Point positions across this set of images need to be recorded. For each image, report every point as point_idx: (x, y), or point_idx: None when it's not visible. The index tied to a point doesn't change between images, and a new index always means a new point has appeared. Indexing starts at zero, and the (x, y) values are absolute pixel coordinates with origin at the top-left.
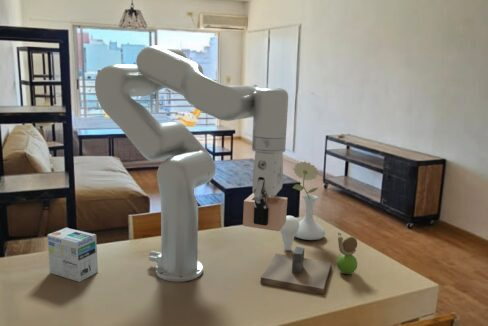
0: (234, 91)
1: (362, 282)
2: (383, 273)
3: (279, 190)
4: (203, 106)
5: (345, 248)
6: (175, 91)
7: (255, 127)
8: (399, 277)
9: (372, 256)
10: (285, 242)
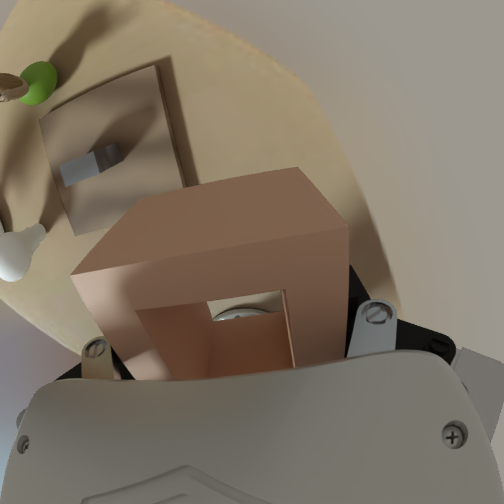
0: None
1: (70, 38)
2: (26, 37)
3: (142, 384)
4: None
5: (18, 83)
6: None
7: None
8: (30, 13)
9: None
10: (38, 239)
